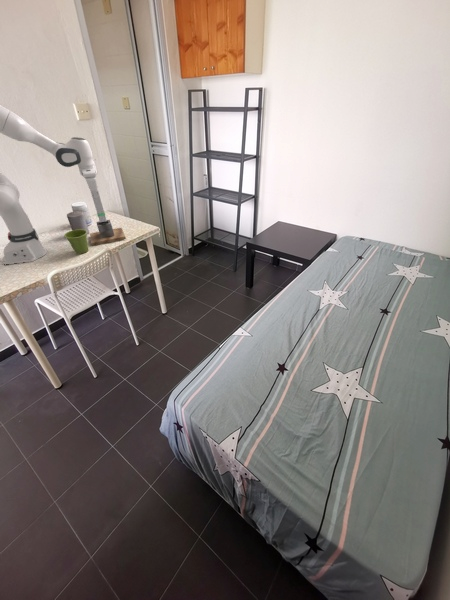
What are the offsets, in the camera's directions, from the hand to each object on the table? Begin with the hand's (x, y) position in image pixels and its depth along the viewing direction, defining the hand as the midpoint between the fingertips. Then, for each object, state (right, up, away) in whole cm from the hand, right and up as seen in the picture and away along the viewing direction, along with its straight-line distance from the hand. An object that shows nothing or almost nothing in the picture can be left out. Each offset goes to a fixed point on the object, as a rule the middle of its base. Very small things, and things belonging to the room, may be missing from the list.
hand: (95, 196), depth 165 cm
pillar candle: (-19, -17, +22) cm, 34 cm away
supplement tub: (-24, -7, +35) cm, 43 cm away
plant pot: (-8, -32, +1) cm, 33 cm away
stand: (+1, -21, +16) cm, 26 cm away
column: (0, -12, +9) cm, 15 cm away
